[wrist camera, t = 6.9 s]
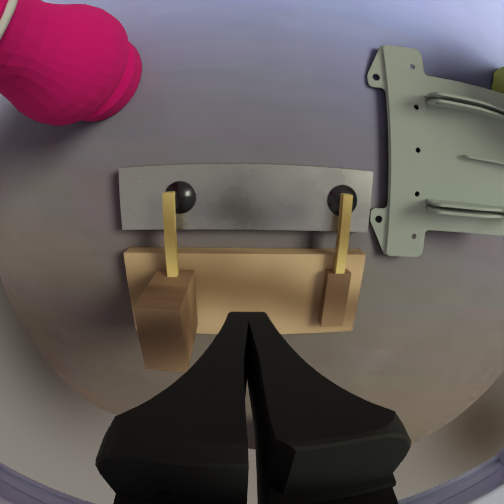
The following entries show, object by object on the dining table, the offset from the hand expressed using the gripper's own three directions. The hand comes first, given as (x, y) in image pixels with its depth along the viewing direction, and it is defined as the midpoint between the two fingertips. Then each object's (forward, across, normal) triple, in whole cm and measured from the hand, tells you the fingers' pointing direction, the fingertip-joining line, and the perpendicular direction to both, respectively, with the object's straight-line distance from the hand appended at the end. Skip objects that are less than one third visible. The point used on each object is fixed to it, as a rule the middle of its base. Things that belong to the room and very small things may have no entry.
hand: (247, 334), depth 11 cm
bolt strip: (+10, 0, -4) cm, 10 cm away
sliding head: (+8, +4, 0) cm, 9 cm away
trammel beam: (+10, 0, +1) cm, 10 cm away
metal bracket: (+10, -16, -8) cm, 20 cm away
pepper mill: (+10, +10, -12) cm, 19 cm away
